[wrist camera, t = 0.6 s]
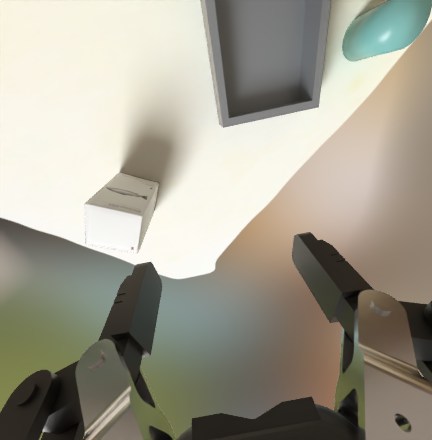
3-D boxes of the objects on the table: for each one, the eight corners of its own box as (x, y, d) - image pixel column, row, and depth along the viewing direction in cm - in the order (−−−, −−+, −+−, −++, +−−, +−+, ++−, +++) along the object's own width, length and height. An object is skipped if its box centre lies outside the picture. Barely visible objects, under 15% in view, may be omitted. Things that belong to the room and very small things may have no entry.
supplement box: (160, 181, 35) (144, 216, 24) (153, 213, 38) (138, 255, 28) (118, 170, 33) (83, 202, 22) (116, 204, 37) (84, 246, 26)
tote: (192, -53, 20) (192, -92, 16) (315, -81, 20) (346, -128, 16) (219, 124, 30) (223, 127, 26) (301, 106, 30) (318, 107, 26)
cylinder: (346, 17, 25) (393, -9, 19) (382, 9, 25) (440, -20, 19) (339, 64, 28) (378, 54, 22) (371, 57, 27) (419, 45, 22)
